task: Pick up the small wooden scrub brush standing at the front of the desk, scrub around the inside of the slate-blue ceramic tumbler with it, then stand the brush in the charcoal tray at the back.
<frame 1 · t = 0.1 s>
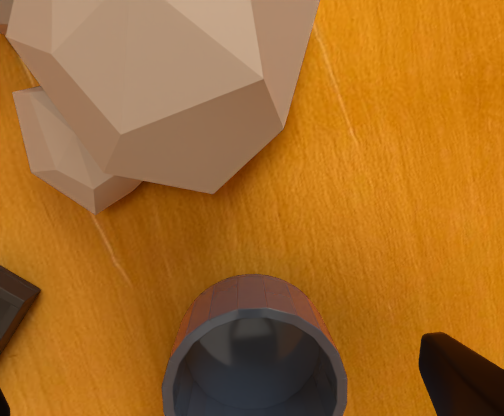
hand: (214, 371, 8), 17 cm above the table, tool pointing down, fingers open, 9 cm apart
rock: (141, 37, 23), on the table
tumbler: (252, 344, 26), on the table
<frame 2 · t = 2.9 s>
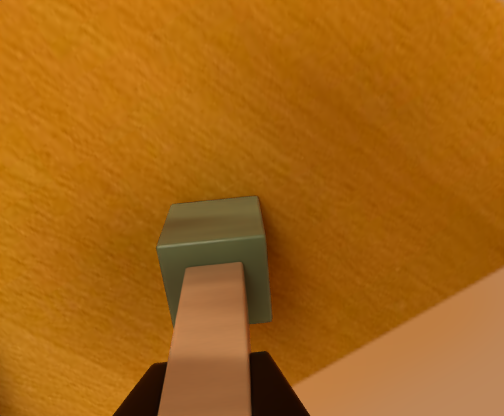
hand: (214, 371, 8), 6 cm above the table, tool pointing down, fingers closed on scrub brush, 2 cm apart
scrub brush: (219, 237, 14), on the table, touching gripper
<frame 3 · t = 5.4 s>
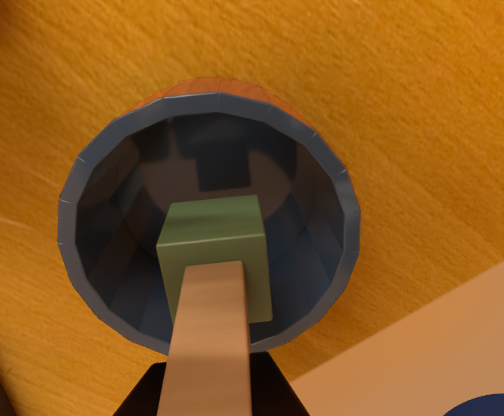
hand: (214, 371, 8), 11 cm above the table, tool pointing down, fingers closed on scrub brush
scrub brush: (219, 236, 14), point 5 cm above the table, touching gripper
tumbler: (217, 190, 18), on the table
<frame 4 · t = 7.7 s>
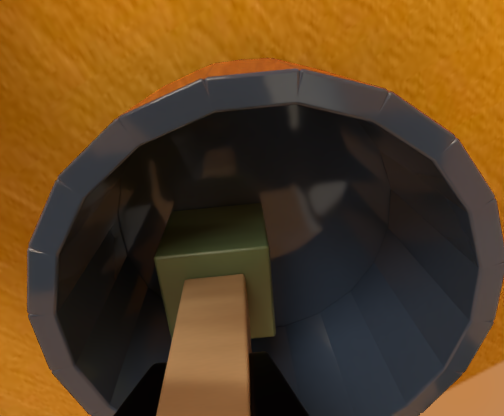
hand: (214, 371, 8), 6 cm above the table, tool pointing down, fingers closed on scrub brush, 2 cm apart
scrub brush: (221, 246, 13), point 1 cm above the table, touching gripper
tumbler: (255, 214, 13), on the table
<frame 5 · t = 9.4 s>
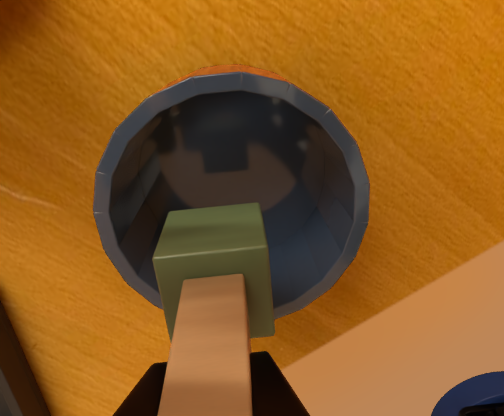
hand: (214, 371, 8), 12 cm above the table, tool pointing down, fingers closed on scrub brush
scrub brush: (219, 245, 13), point 7 cm above the table, touching gripper
tumbler: (233, 172, 19), on the table
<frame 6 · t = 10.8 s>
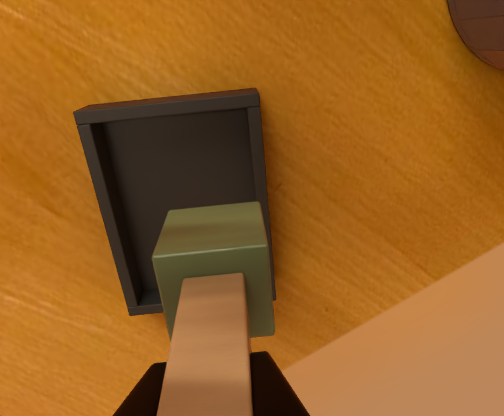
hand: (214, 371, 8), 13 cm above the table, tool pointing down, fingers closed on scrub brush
scrub brush: (219, 244, 13), point 8 cm above the table, touching gripper
tray: (190, 202, 21), on the table
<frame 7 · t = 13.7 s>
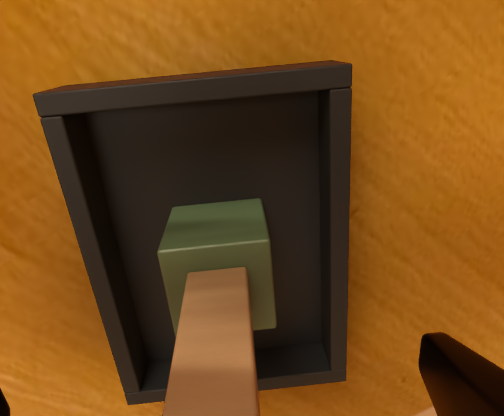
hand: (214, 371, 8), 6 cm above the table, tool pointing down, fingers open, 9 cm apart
scrub brush: (221, 240, 13), resting on tray
tray: (220, 236, 14), on the table
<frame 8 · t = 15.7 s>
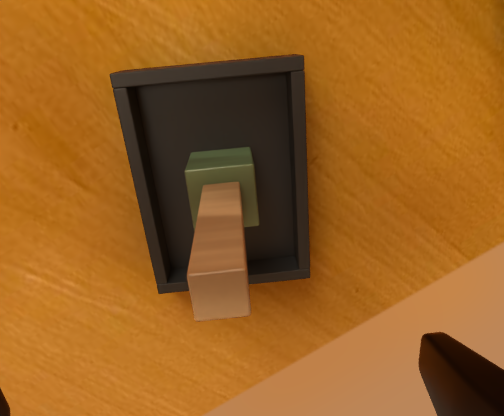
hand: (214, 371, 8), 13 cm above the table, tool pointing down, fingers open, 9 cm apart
scrub brush: (223, 177, 19), resting on tray
tray: (223, 175, 20), on the table
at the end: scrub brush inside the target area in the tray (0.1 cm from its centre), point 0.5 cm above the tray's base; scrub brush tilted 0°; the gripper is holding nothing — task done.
